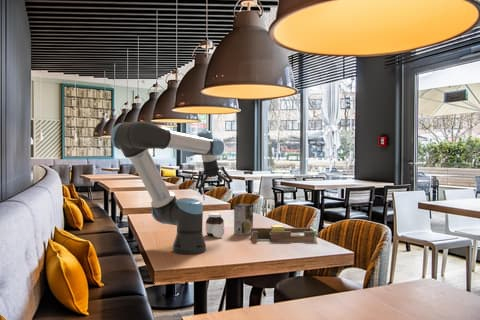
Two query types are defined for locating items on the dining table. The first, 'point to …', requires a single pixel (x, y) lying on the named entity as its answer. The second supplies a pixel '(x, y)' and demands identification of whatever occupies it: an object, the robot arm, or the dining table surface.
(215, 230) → the spread jar
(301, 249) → the dining table surface
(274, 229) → the block
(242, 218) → the coffee box
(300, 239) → the box
